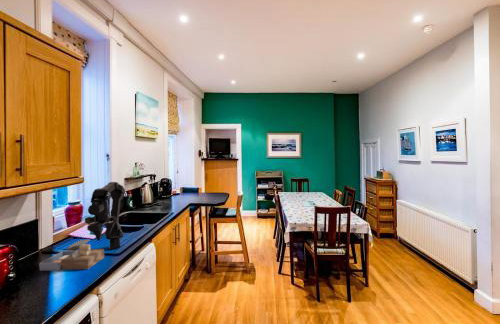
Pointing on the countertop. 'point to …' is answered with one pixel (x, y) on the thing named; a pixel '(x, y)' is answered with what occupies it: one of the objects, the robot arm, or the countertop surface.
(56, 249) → the countertop surface
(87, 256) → the brown square tray
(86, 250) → the scraper
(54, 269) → the box
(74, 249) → the cleaver
